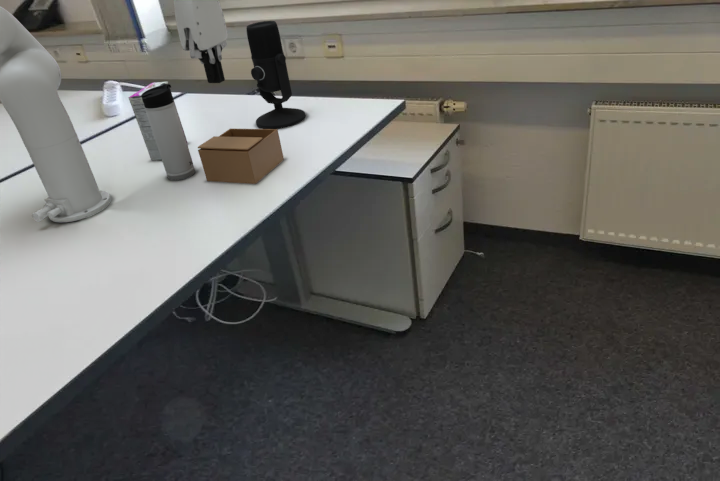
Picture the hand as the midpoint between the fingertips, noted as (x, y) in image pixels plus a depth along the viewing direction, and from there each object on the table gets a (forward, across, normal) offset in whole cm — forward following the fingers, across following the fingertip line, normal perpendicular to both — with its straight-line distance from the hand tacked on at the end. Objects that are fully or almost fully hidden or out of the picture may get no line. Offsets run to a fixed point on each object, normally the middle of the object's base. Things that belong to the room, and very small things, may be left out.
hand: (216, 81), depth 117 cm
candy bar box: (+21, -8, -26) cm, 34 cm away
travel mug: (+20, +3, -13) cm, 24 cm away
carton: (+20, -1, +2) cm, 20 cm away
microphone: (+20, -32, -7) cm, 38 cm away
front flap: (+12, +3, +2) cm, 13 cm away
